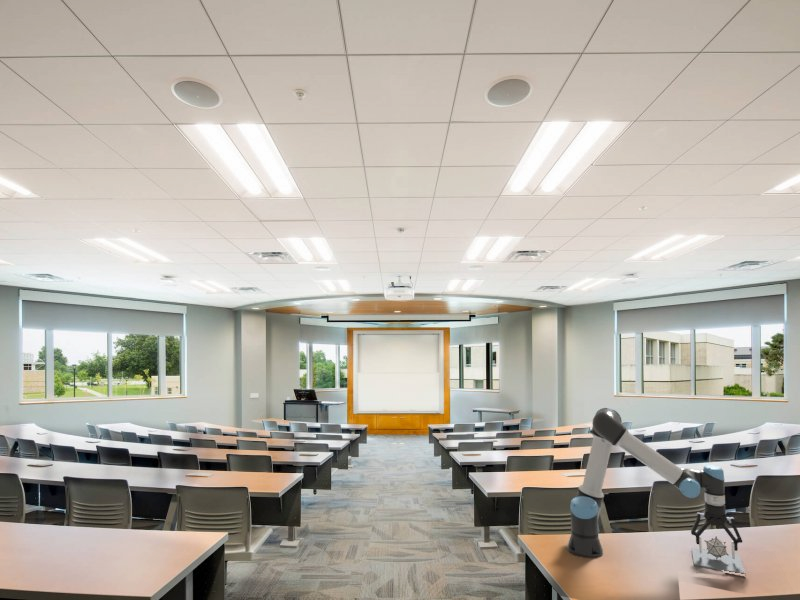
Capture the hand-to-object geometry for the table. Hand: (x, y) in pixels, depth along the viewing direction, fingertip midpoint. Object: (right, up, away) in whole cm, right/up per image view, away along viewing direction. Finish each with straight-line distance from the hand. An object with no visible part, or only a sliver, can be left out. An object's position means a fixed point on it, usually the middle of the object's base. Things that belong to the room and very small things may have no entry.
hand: (716, 554), depth 215 cm
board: (0, -4, 0) cm, 4 cm away
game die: (0, -2, 0) cm, 2 cm away
